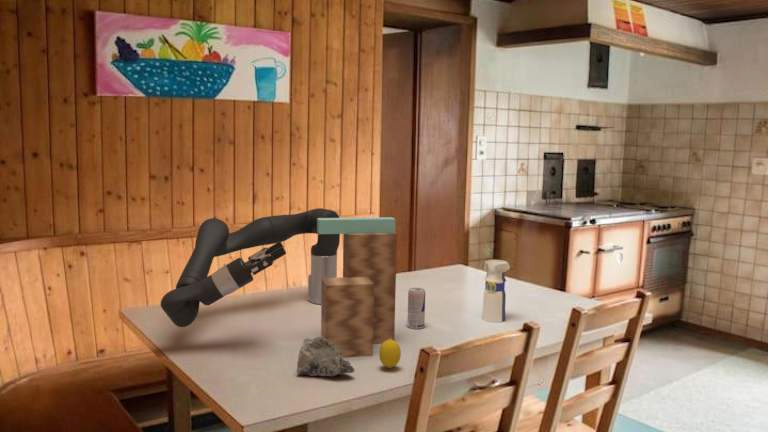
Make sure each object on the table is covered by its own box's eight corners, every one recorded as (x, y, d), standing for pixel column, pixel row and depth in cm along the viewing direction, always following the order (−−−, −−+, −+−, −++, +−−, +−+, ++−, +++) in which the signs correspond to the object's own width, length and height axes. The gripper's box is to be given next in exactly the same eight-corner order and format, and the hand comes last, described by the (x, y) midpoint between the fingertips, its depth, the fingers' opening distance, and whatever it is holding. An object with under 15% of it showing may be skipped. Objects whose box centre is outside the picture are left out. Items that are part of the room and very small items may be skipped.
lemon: (378, 364, 173) (378, 335, 172) (399, 364, 173) (399, 335, 172) (379, 372, 167) (380, 342, 166) (401, 372, 168) (402, 342, 167)
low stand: (325, 358, 177) (326, 285, 174) (321, 347, 186) (321, 278, 183) (372, 355, 180) (374, 284, 177) (366, 344, 189) (367, 276, 186)
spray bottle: (501, 324, 212) (505, 248, 208) (477, 319, 216) (480, 245, 213) (510, 318, 218) (514, 244, 215) (487, 314, 223) (490, 241, 220)
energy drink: (426, 325, 209) (427, 288, 207) (421, 330, 204) (422, 292, 202) (410, 323, 210) (411, 286, 209) (405, 328, 205) (406, 290, 204)
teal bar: (318, 234, 184) (319, 220, 183) (317, 231, 188) (317, 218, 187) (395, 233, 189) (395, 219, 188) (391, 230, 193) (392, 217, 192)
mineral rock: (356, 378, 163) (357, 339, 162) (321, 389, 156) (322, 348, 155) (325, 364, 173) (326, 327, 171) (291, 373, 166) (291, 335, 164)
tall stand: (346, 345, 188) (348, 234, 184) (342, 336, 196) (343, 230, 191) (394, 342, 191) (396, 234, 187) (387, 334, 199) (390, 229, 195)
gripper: (225, 271, 174) (278, 240, 176) (225, 260, 188) (274, 231, 190) (239, 294, 176) (292, 263, 178) (238, 282, 189) (287, 253, 192)
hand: (283, 247), depth 184 cm, fingers open, 8 cm apart
